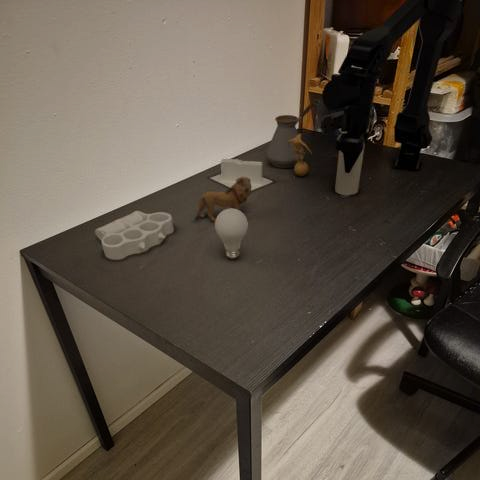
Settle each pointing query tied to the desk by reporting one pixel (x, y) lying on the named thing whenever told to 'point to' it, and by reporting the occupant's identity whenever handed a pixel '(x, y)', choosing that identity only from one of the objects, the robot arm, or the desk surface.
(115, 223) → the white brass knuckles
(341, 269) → the desk surface
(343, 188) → the paper towel roll
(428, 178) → the desk surface
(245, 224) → the light bulb
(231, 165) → the napkin holder
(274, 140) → the coffee pot
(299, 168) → the figurine
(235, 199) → the lion figurine
